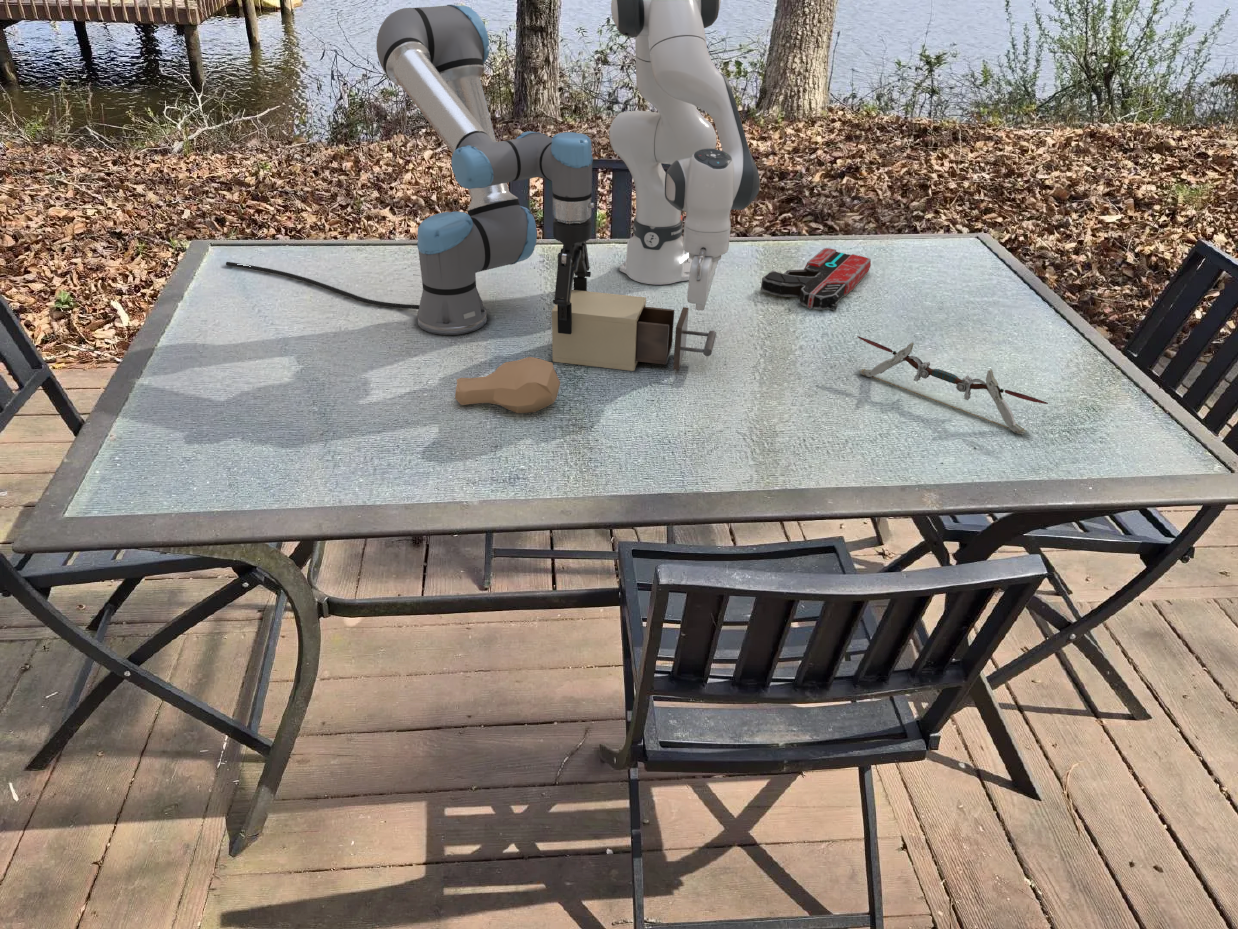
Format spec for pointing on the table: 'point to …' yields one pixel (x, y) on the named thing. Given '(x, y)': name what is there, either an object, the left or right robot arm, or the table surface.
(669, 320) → the drawer
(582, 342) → the tan box
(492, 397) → the squash
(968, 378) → the bow
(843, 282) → the gun
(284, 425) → the table surface
